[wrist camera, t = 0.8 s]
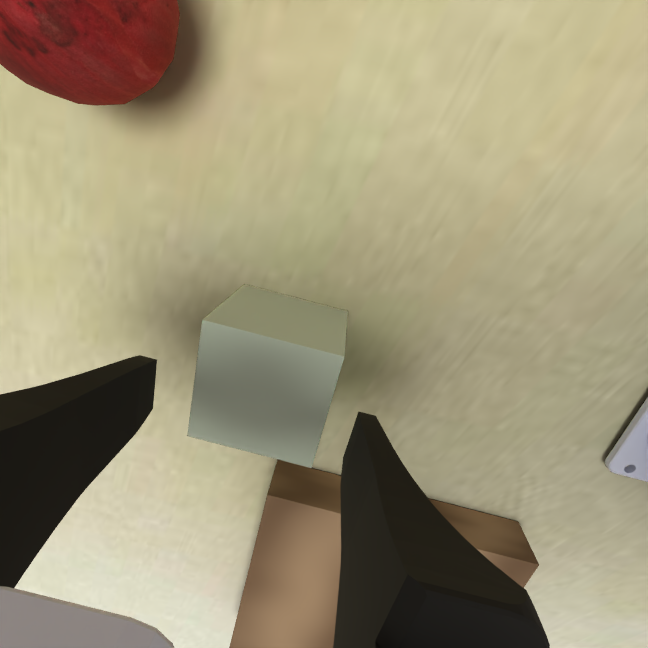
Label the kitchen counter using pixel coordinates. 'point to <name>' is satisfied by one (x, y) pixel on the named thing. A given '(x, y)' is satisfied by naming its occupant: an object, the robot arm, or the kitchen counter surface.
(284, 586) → the walnut base
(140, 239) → the kitchen counter surface
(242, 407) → the sage block
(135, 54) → the onion
